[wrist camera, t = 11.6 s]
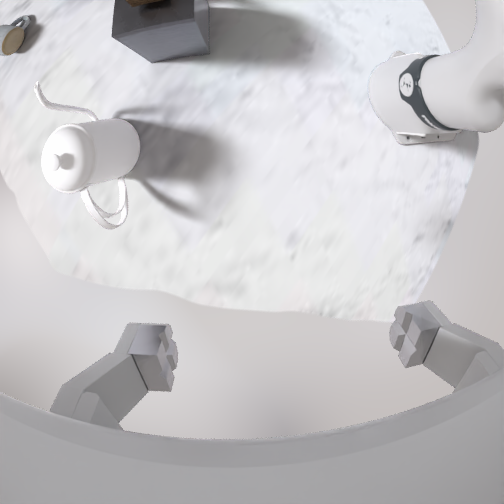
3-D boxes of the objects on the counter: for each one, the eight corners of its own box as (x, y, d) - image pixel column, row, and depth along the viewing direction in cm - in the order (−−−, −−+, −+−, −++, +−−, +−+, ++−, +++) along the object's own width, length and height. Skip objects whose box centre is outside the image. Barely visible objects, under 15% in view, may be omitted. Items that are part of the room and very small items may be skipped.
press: (208, -6, 30) (196, -54, 16) (209, 54, 36) (194, 18, 21) (153, 3, 30) (121, -36, 15) (151, 62, 36) (111, 36, 21)
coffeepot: (115, 73, 36) (55, 53, 19) (166, 194, 46) (126, 233, 29) (70, 105, 37) (2, 105, 20) (118, 218, 47) (66, 264, 30)
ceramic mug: (17, 57, 29) (-4, 54, 22) (1, 55, 27) (-19, 53, 20) (38, 16, 26) (19, 9, 19) (20, 16, 24) (2, 10, 17)
